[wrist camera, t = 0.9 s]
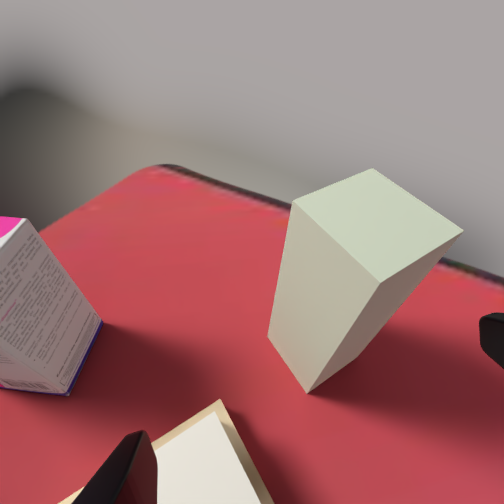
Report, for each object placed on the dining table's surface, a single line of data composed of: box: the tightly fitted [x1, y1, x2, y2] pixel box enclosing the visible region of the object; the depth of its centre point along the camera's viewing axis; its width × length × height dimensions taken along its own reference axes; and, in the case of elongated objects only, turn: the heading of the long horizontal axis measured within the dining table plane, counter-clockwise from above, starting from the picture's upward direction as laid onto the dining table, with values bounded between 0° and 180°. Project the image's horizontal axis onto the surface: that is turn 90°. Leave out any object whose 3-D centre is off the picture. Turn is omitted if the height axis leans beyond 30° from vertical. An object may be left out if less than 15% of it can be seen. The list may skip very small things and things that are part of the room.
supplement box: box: [0, 216, 103, 396], centre depth 18 cm, size 6×6×12 cm
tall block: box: [267, 168, 464, 393], centre depth 18 cm, size 5×5×14 cm
